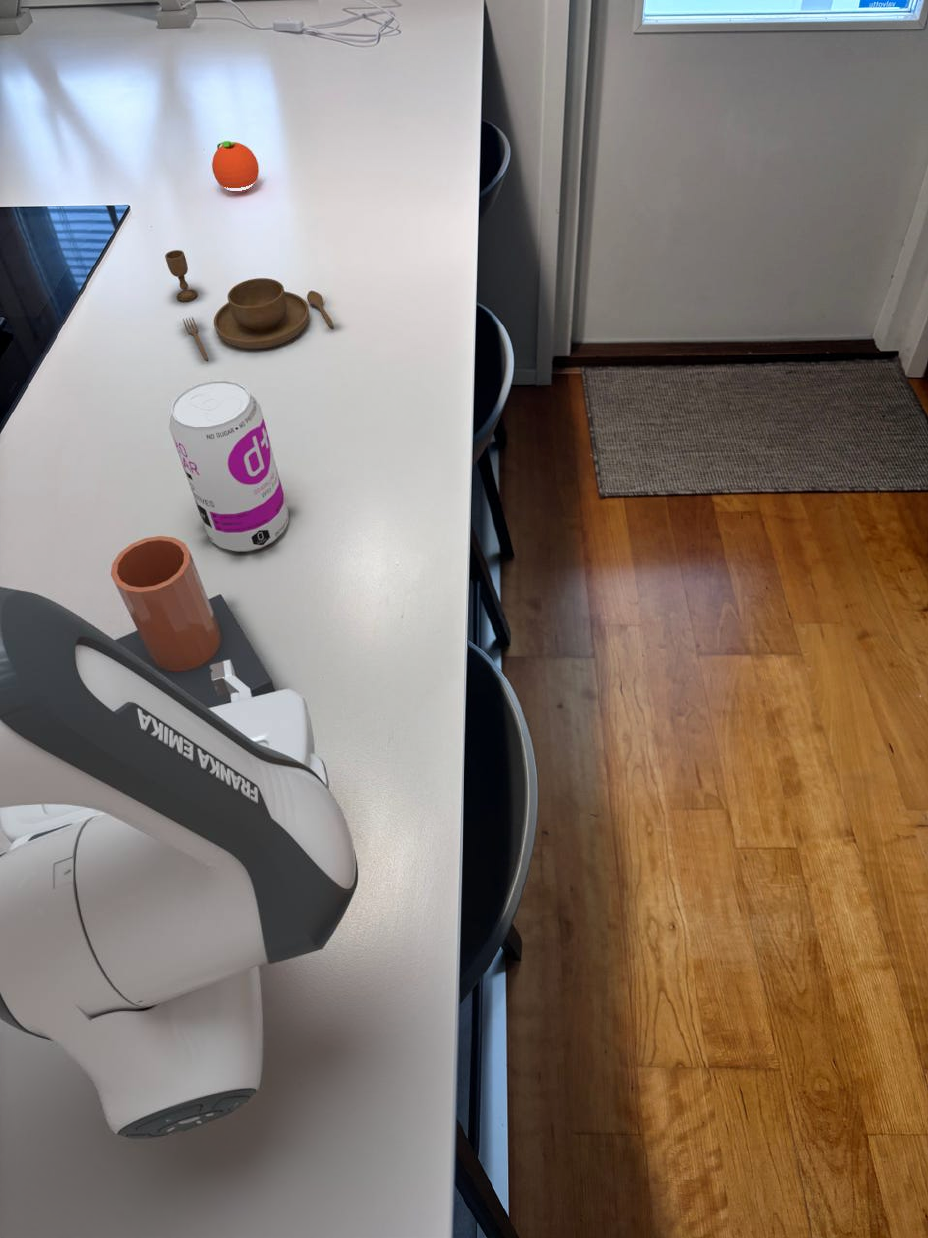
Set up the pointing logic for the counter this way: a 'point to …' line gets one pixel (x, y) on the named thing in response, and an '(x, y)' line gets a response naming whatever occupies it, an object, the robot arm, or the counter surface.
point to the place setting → (251, 310)
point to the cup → (167, 602)
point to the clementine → (234, 165)
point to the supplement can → (229, 464)
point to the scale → (213, 660)
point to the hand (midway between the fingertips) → (156, 682)
